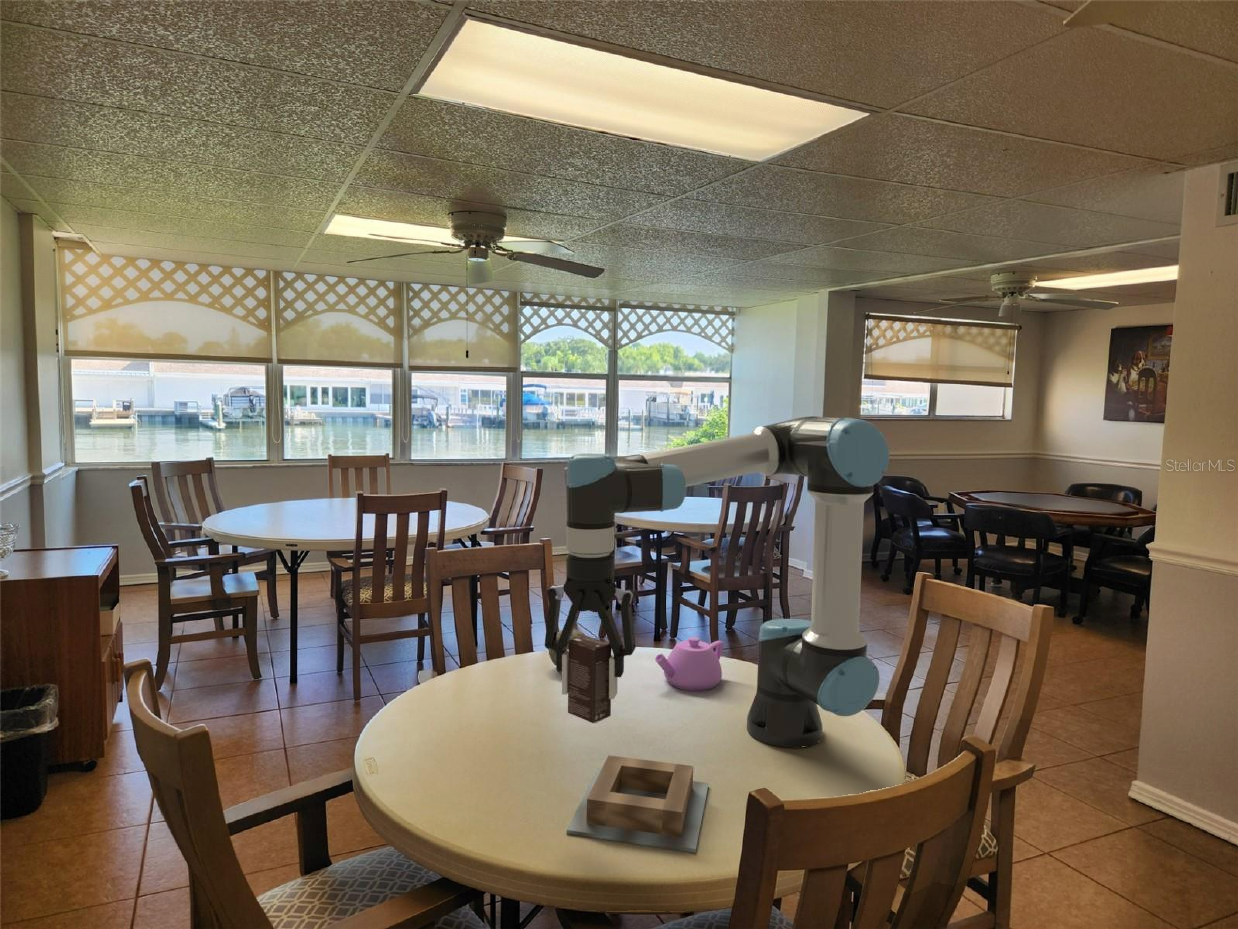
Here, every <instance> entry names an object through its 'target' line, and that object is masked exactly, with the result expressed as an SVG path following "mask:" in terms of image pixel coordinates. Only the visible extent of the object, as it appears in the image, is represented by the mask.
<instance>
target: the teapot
mask: <svg viewBox="0 0 1238 929" xmlns="http://www.w3.org/2000/svg"><path fill="white" fill-rule="evenodd" d="M714 649H715V650H714ZM723 651H724V641H722V640H716V641H713V642H711V643H710V644H709V643H708V642H705V641H701V638H699V637H695V636H693V637H692V636H691V637H688V639H687V640H682V641H681V640H680V641H679V642H678V643H677V644H676V645H675V646H674V647H673V648H672V650H671V652H670V653H669V655H668V656H667V658H666V656H665V655H664V654H663V653H660V654H658V655H657V656H655V659H654V660H655V662H656V663H657V664H658V665H659V667H660V668H661V669H662V670H663V674H664V675H663V676H664V678H666V680H667V681H668V682H669V684H671V685H672V686H673V687H676V688H677V689H681V690H686V691H694V692H695V691H706V690H711V689H713V688H715V686H717V685H718V684H719V683H720V681H721V679H722V677H723V671H722V665H721V663H720V659H721V657H722V654H723Z"/></svg>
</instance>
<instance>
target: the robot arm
mask: <svg viewBox="0 0 1238 929" xmlns="http://www.w3.org/2000/svg"><path fill="white" fill-rule="evenodd" d="M889 450H890V449H889V445H888V443H887V439H886V438H885V436H884V434H883V433H882V432H881V431H880V429H878V427H877V426H876V425H875V424H873V423H872V422H869V421H867V420H863V419H860V418H859V419H858V418H855V417H847V416H846V417H830V416H829V417H825V416H802V417H798V418H793V419H789V420H784V421H780V422H776V423H771V424H767V425H763V426H758V427H755V428H754V429H753V430H752V431H751V433H749V434H742V435H738V436H732V437H726V438H725V437H724V438H720V439H714V440H709V441H704V442H698V443H694V444H686V445H681V446H675V447H670V448H664V449H659V450H655V451H654V450H653V451H648V452H642V453H638V454H632V455H625V456H621V457H618V456H613V455H612V454H609V453H577V454H573V455H571V456H570V457H569V458H568V461H567V464H566V466H567V467H566V475H565V476H566V478H565V487H566V489H565V491H566V498H565V499H566V538H565V539H566V545H565V546H566V550H567V551H568V553H567V554H566V566H565V567H566V570H565V571H566V580H565V582H564V584H562V585H557V584H553V585H551V587H549V588H548V589H547V591H546V593H547V598H548V604H549V605H548V614H547V620H546V630H545V638H544V647H545V649H548V650H549V649H552V650H554V651H555V652H556V665H555V667H556V668H555V669H556V672H557V673H561V695H565V696H566V695H567V696H568V664H569V649H567V650H566V647H567V646H568V642H569V639H570V637H571V634H572V631H573V630H575V629H574V628H575V626H576V623H577V621H578V618H579V616H580V613H581V612H588V611H589V612H592V613H597V615H598V618H599V619H600V621H601V624H602V626H603V628H604V631H605V635H606V637H607V640H608V643H610V646H611V652H612V653H611V657H610V658H609V699H611V700H614V699H615V698H616V696H617V695H618V682H619V681H618V678H621V677H622V676H623V674H624V673H625V657H626V656H632V655H633V653H634V651H635V650H636V648H637V645H636V639H635V629H634V628H635V627H634V618H633V609H632V602H633V599H634V591H633V590H632V589H627V590H625V589H621V588H618V586H617V584H616V582H615V555H614V554H613V551H614V550H615V523H616V522H615V516H616V514H624V513H642V512H643V513H644V512H645V513H646V512H660V513H661V512H664V511H669V510H676V509H679V508H680V507H681V506H682V505H683V503H684V500H685V499H686V494H687V489H686V488H687V487H693V486H696V485H702V484H706V483H712V482H716V481H721V480H727V479H731V478H737V477H741V476H747V475H750V474H751V475H752V474H756V473H759V474H760V475H762V476H765V477H768V476H774V475H793V476H794V475H795V476H801V477H806V478H807V481H806V482H807V484H806V489H807V490H806V491H807V492H808V493H809V495H810V496H811V497H812V498H813V499H814V504H815V505H814V525H813V526H814V531H813V533H814V534H813V558H812V588H811V611H810V612H811V614H810V620H806V619H803V618H802V619H801V618H800V619H799V618H780V619H779V618H778V619H772V620H767V621H765V622H763V623H762V624H761V625H760V628H759V635H758V639H757V642H758V653H757V654H758V655H757V656H758V657H757V676H756V677H757V679H756V682H757V683H756V693H755V695H754V697H753V700H752V704H751V705H750V708H749V710H748V713H747V718H746V730H747V732H748V734H750V735H751V736H752V737H753V738H754V739H756V740H758V741H760V742H762V743H765V744H767V745H772V746H776V747H780V746H781V748H788V747H801V748H803V747H802V746H808V747H810V745H812V746H814V745H816V744H818V743H819V742H820V741H821V740H822V739H821V738H823V722H822V719H821V715H820V711H819V708H818V707H820V708H821V709H822V710H824V711H826V712H830V713H832V714H834V715H836V716H839V717H851V716H854V715H857V714H859V713H860V712H862V711H863V710H865V709H866V708H867V706H868V705H869V704H870V703H872V701H873V699H874V698H875V696H876V694H877V692H878V690H879V686H880V671H879V669H878V667H877V666H876V664H875V662H874V661H873V660H872V659H870V658H869V657H867V654H868V653H867V652H868V640H867V637H866V636H865V635H863V633H862V632H861V631H860V614H861V613H860V611H861V610H860V609H861V590H862V589H861V588H862V587H861V584H862V565H863V564H862V560H863V540H864V538H863V537H864V536H863V535H864V517H865V516H864V515H865V514H864V512H865V502H866V501H867V500H868V499H869V498H871V496H873V494H874V485H875V484H877V483H879V482H880V481H881V480H882V479H883V478H884V476H883V474H885V473H887V470H888V468H889V462H890V451H889ZM564 593H565V595H566V596H567V598H568V599H569V600H570V602H571V605H570V608H569V610H568V615H567V617H566V621H565V623H564V625H563V627H562V629H561V630H562V633H561V636H560V638H559V641H558V640H556V639H557V632H558V629H559V621H560V612H561V603H562V601H561V600H562V598H563V597H564ZM614 597H616V598H617V603H618V604H619V605H620V618H621V628H622V635H623V641H622V637H621V636H620V633H619V630H618V627H617V624H616V622H615V618H614V616H613V614H612V608H611V605H610V602H611V601H612V599H613V598H614ZM820 739H821V740H820ZM819 740H820V741H819ZM818 741H819V742H818ZM817 742H818V743H817ZM815 743H816V744H815ZM813 744H814V745H813Z"/></svg>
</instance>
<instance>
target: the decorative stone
mask: <svg viewBox="0 0 1238 929" xmlns="http://www.w3.org/2000/svg"><path fill="white" fill-rule="evenodd" d="M562 630H563V629H561V630H559V631H557V639H556V640H558V641H559V638H560V636H561V633H562ZM584 636H587V635H586V634H585V633H584V632H583V631H580V630H578V629H573V631H572V634H571V637H570V639H569V641H570V640H573V639H577V638H580V637H584ZM567 649H569V642H568V646H567V647H566V650H567ZM548 655H549V658H550V661H551V662H552V663H553V665H554V666H556V652H555V651H554V650H552V649H548Z"/></svg>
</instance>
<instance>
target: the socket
mask: <svg viewBox="0 0 1238 929" xmlns="http://www.w3.org/2000/svg"><path fill="white" fill-rule="evenodd" d="M592 776H593V777H592V778H591V780H590V782H589V784H588V786H587V788H586V790H585V793H584V794H583V796H582V798H581V800H580V803H579V805H578V806H577V809H576V810H575V812H574V815H573V816H572V818H571V820H570V822H569V825H568V826H567V828H566V834H567V835H572V836H573V835H575V836H581V837H588V838H594V839H600V840H608V841H613V842H614V841H615V842H620V843H621V842H622V843H627V844H628V843H629V844H633V845H634V844H635V845H641V846H648V847H655V848H662V849H669V850H673V851H681V852H689V853H694V854H696V853H697V847H698V844H699V843H698V842H699V838H700V831H701V826H702V823H703V822H702V821H703V816H704V811H705V806H706V800H707V795H708V790H709V782H706V781H705V782H703V781H694V765H690V764H689V765H687V764H680V763H673V762H665V761H656V760H648V759H643V758H642V759H641V758H633V757H626V756H625V757H624V756H619V755H618V756H617V755H611V754H610V755H609V754H608V756H607V757H606V760H605V761H604V763H603V766H602V767H601V768H597V769H596V771H595V773H594V775H592Z"/></svg>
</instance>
